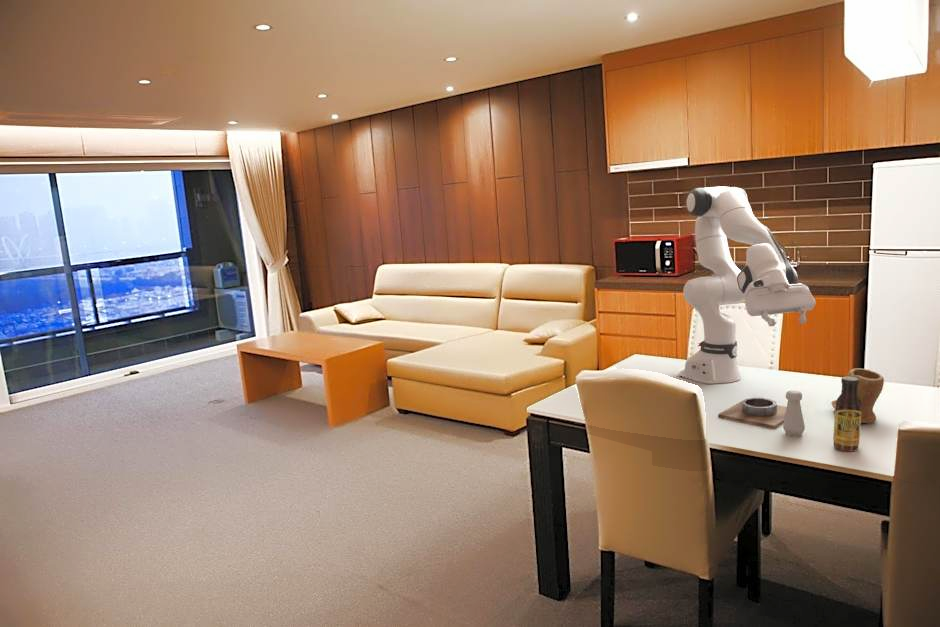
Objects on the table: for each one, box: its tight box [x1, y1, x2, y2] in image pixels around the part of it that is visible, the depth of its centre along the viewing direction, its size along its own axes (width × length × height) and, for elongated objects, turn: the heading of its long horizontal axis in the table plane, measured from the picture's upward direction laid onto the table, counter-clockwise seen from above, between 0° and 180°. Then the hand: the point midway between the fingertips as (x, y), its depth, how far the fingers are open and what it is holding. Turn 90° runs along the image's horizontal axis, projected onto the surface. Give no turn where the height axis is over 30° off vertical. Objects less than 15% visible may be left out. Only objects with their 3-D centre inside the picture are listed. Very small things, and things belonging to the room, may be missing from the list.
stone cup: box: [830, 367, 885, 424], centre depth 205 cm, size 15×12×15 cm
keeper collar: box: [742, 397, 778, 417], centre depth 214 cm, size 10×10×3 cm
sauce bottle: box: [832, 376, 862, 452], centre depth 183 cm, size 7×6×20 cm
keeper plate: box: [718, 400, 787, 430], centre depth 215 cm, size 18×18×1 cm
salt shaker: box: [782, 390, 806, 438], centre depth 196 cm, size 6×6×13 cm
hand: (787, 323), depth 206 cm, fingers open, 8 cm apart
